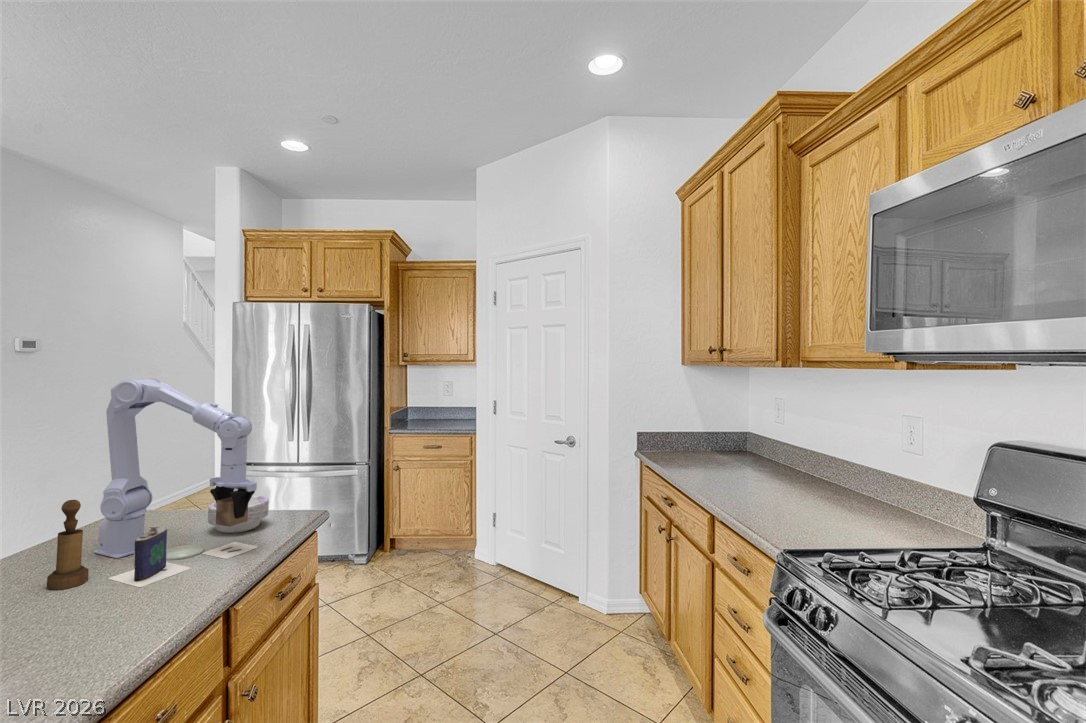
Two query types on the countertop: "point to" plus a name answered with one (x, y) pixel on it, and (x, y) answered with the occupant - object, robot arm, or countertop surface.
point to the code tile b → (229, 550)
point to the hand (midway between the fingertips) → (231, 516)
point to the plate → (184, 551)
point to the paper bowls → (255, 514)
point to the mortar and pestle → (69, 552)
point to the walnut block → (228, 513)
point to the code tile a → (164, 573)
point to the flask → (150, 553)
